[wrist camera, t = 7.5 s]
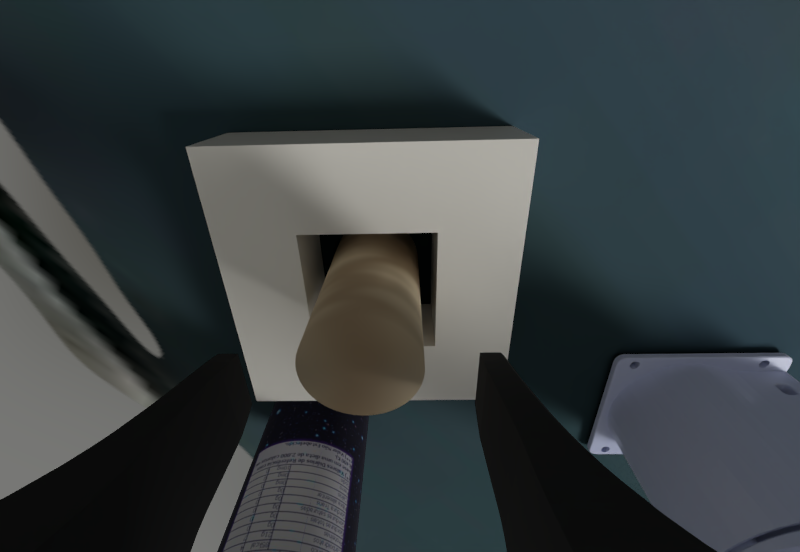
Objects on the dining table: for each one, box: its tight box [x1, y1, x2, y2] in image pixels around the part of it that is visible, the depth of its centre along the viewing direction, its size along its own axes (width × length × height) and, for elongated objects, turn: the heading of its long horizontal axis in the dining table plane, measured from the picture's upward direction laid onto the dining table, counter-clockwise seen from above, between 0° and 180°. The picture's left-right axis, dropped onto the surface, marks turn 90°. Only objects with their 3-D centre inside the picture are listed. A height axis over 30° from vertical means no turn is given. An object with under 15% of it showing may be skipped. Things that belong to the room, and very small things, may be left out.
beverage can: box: [217, 401, 369, 552], centre depth 18 cm, size 6×6×12 cm
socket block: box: [186, 126, 539, 401], centre depth 17 cm, size 12×12×4 cm
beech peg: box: [295, 233, 425, 415], centre depth 15 cm, size 4×4×8 cm
